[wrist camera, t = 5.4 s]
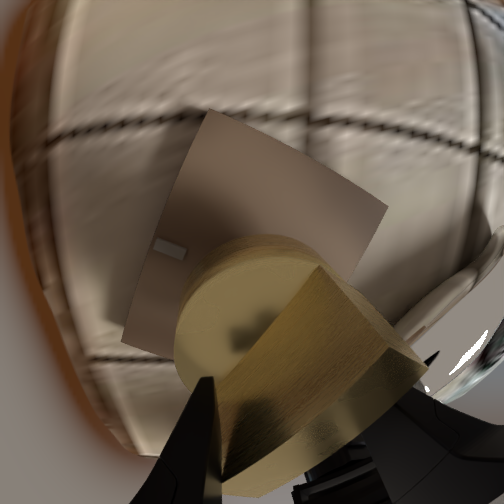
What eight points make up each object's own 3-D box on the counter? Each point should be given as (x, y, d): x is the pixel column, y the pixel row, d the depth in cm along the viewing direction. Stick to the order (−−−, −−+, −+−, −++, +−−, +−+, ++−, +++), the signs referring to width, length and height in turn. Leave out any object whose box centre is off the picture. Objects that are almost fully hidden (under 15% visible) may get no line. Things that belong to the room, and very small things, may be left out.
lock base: (272, 371, 20) (286, 417, 16) (125, 328, 17) (109, 375, 13) (375, 200, 16) (420, 220, 12) (209, 112, 13) (209, 97, 9)
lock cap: (239, 199, 10) (293, 292, 4) (363, 284, 13) (457, 384, 6) (142, 349, 12) (118, 482, 6) (261, 396, 14) (290, 507, 8)
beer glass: (501, 277, 20) (400, 376, 21) (481, 220, 20) (369, 322, 21) (547, 289, 14) (436, 416, 14) (532, 219, 13) (409, 356, 14)
